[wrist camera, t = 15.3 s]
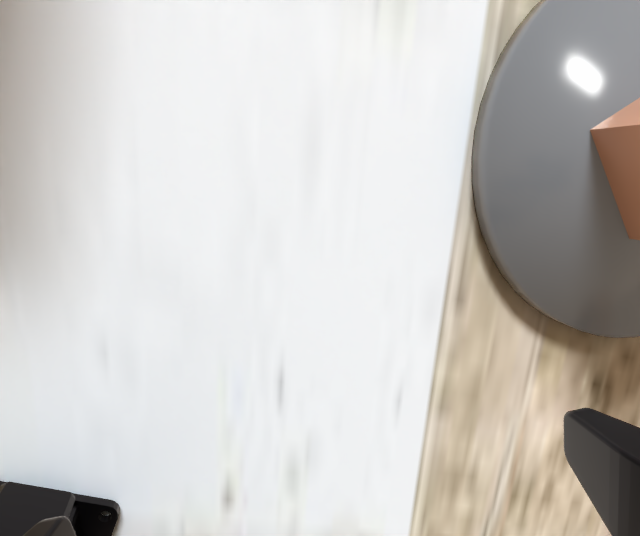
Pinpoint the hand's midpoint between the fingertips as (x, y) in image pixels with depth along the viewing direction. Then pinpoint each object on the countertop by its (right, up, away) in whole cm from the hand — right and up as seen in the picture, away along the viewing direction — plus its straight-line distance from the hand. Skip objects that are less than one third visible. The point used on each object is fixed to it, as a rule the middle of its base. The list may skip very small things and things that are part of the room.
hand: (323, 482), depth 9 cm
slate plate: (+16, +9, +15) cm, 24 cm away
